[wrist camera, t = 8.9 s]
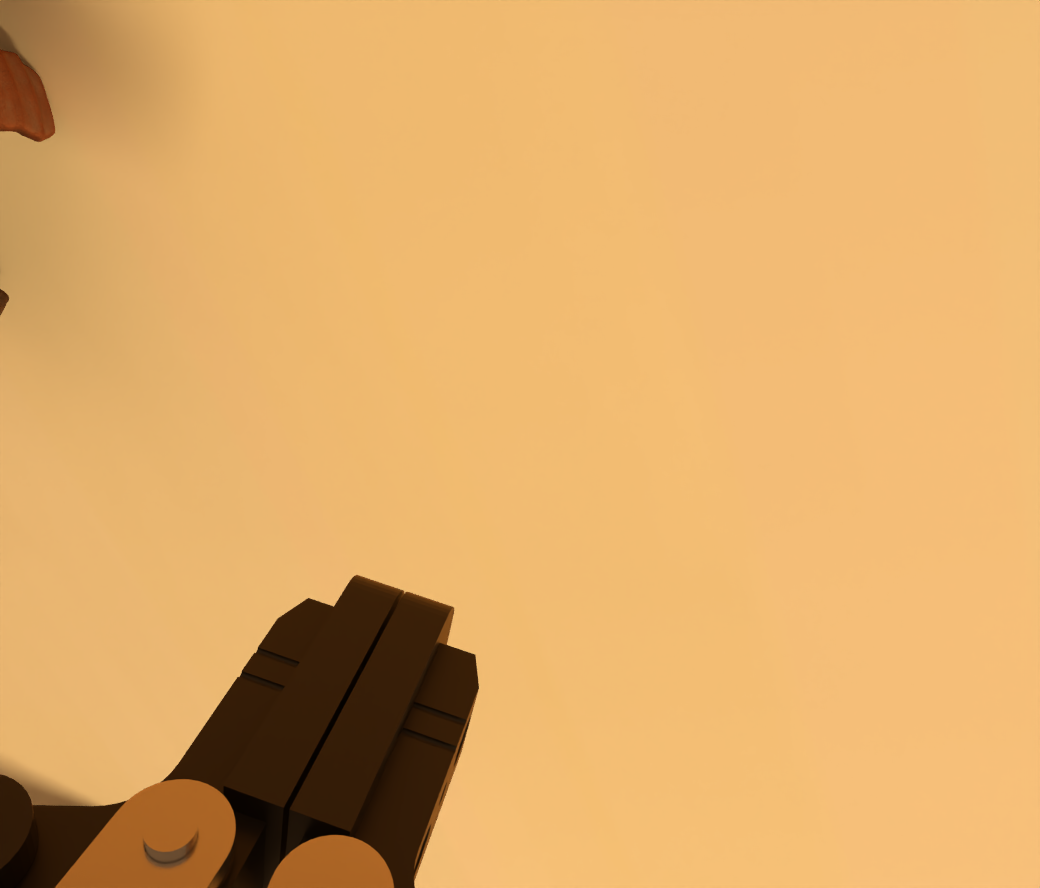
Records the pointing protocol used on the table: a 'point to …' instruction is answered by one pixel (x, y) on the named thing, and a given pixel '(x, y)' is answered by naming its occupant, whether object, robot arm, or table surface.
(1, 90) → the pottery mug
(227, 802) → the robot arm
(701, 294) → the table surface
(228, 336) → the table surface
